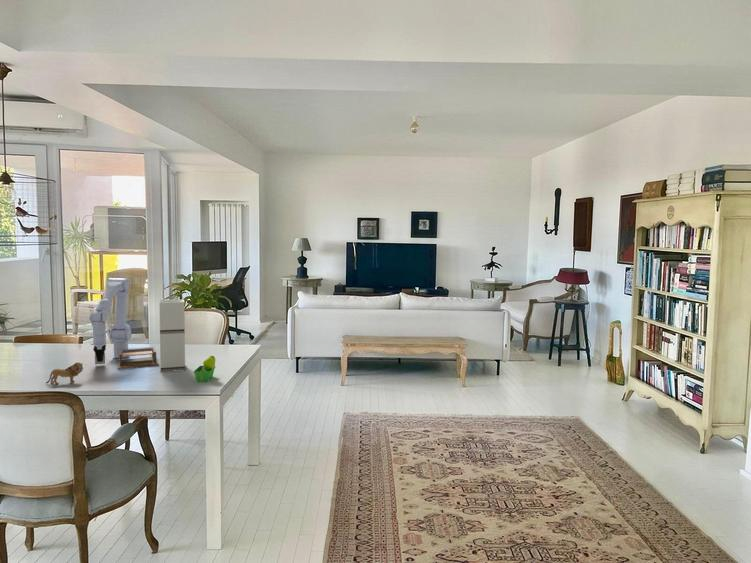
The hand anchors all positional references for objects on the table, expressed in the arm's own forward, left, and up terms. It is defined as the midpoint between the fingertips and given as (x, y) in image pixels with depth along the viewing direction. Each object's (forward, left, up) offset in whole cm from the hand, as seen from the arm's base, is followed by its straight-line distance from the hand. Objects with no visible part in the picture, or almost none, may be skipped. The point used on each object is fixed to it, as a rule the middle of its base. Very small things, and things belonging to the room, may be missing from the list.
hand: (100, 360), depth 255 cm
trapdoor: (+1, +18, +1) cm, 18 cm away
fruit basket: (+45, +45, -3) cm, 64 cm away
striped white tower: (+19, +33, -3) cm, 38 cm away
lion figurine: (+26, -13, -3) cm, 29 cm away
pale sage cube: (0, 0, -1) cm, 1 cm away
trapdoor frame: (+2, +17, -3) cm, 18 cm away
